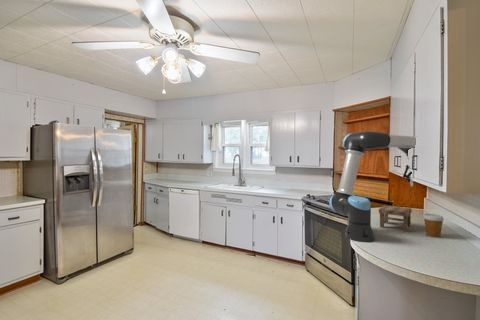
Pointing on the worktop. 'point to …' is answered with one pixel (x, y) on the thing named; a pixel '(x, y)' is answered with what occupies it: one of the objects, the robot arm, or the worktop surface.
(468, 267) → the worktop surface
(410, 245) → the worktop surface
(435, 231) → the disposable coffee cup
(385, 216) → the walnut stool
